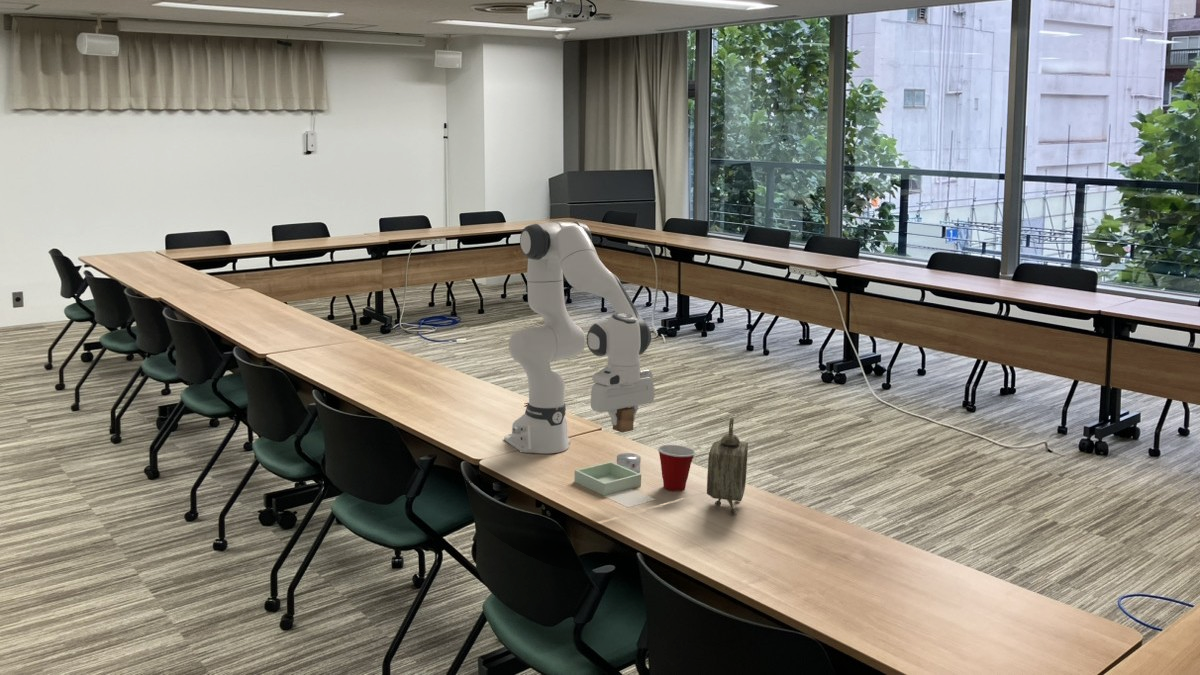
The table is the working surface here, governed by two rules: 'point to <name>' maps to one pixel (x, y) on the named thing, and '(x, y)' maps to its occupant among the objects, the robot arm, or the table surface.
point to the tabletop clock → (727, 469)
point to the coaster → (629, 498)
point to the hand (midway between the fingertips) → (622, 423)
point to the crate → (607, 478)
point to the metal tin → (629, 461)
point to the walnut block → (624, 419)
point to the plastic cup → (675, 465)
